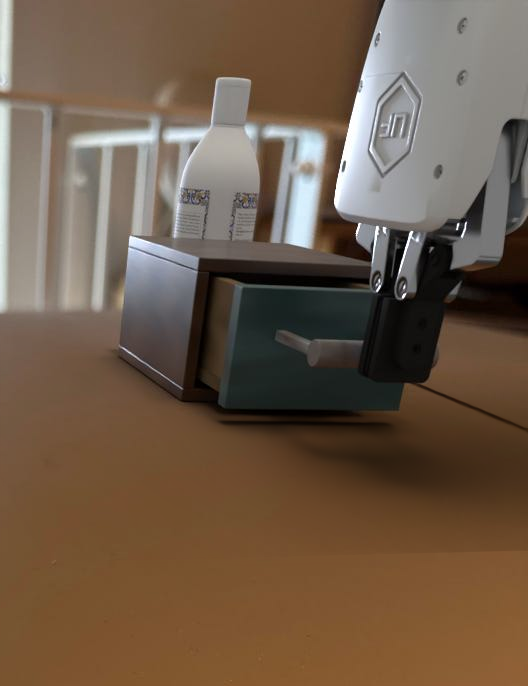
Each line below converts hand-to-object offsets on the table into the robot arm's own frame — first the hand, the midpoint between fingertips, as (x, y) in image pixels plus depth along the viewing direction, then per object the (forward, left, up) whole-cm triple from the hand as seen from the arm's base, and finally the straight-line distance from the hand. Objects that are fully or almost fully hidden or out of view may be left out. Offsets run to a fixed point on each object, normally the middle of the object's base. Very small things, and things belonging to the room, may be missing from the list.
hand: (391, 378), depth 49 cm
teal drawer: (0, -11, -4) cm, 12 cm away
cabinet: (0, -20, -4) cm, 21 cm away
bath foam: (-6, -42, -5) cm, 43 cm away
